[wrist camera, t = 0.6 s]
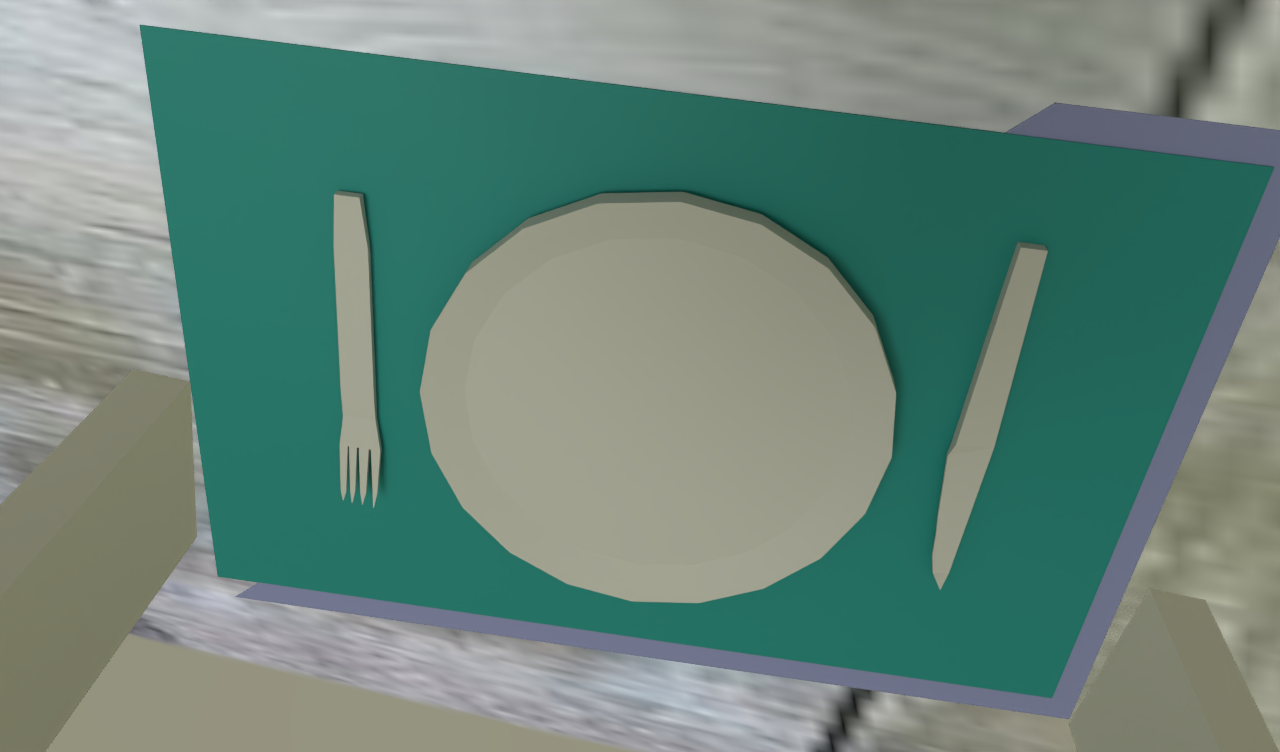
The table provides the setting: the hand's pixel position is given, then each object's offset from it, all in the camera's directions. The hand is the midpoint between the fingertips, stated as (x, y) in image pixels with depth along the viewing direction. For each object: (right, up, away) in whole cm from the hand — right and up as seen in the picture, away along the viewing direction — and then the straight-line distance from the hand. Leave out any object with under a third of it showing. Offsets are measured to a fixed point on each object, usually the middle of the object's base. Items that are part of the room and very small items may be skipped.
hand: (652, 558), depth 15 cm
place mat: (+1, +2, +33) cm, 33 cm away
